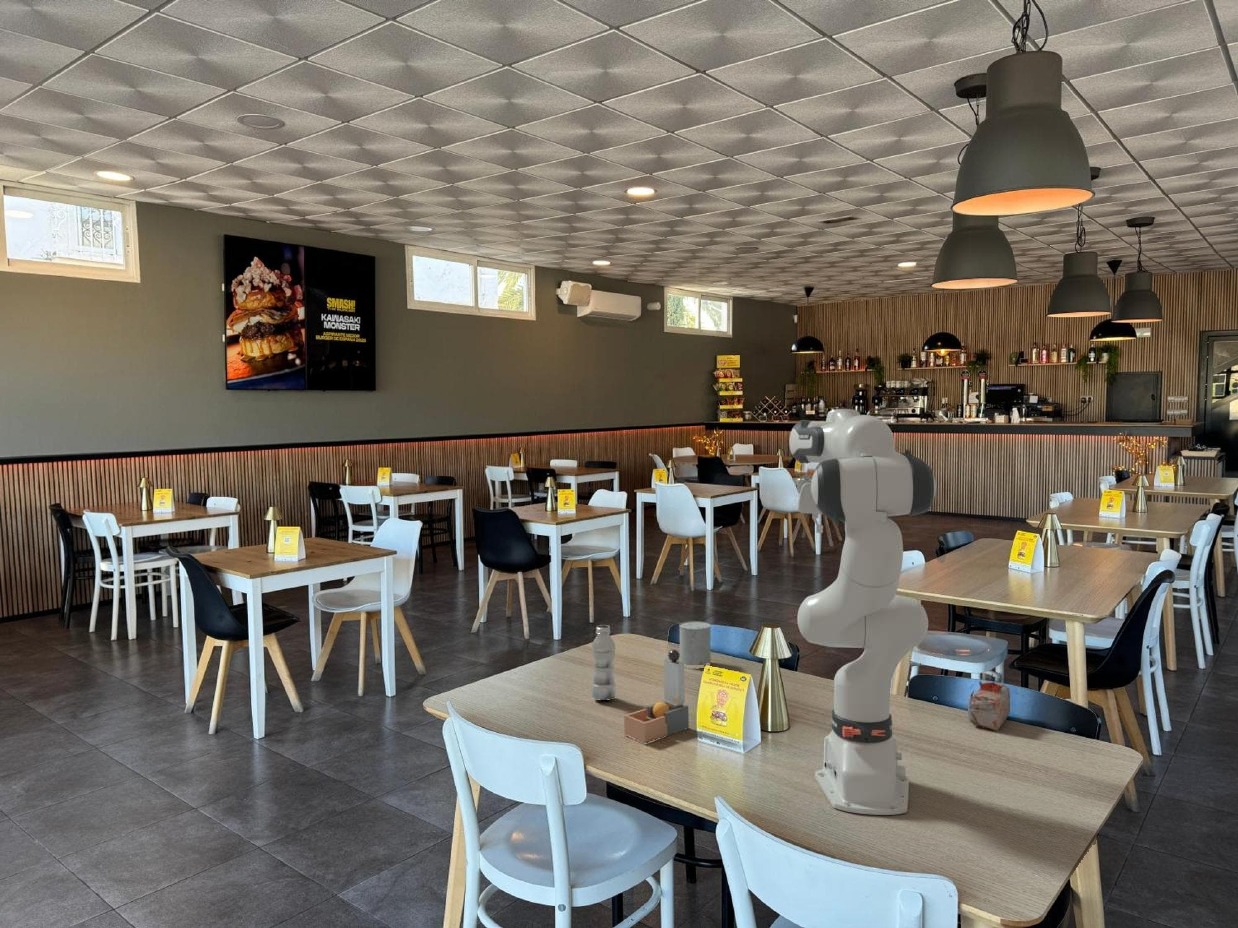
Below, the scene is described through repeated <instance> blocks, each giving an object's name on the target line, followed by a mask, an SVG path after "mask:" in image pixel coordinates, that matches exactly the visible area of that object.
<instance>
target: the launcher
mask: <svg viewBox="0 0 1238 928" xmlns="http://www.w3.org/2000/svg"><path fill="white" fill-rule="evenodd" d="M655 704H656V703H653V704H652V705H649V706H647V707H646V715H647V717H649V718H651V719H656V717H655V716H654V714H653V707H654V706H655ZM689 715H690V714H689V705H683V707H680V708H677V709H674V710H671V711H668V712H665V713H664V716H665V724H667V735H669V734H671V735H673V734H672V733H674V734H676V733H675V732H677V733H679V732H678V731H680V730H683V729H685V728H688V727H689V726H690V725H689V724H690V723H689ZM688 729H689V728H688ZM685 730H686V729H685ZM683 731H684V730H683ZM680 732H681V731H680ZM669 736H670V735H669Z"/></svg>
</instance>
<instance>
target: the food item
mask: <svg viewBox="0 0 1238 928" xmlns="http://www.w3.org/2000/svg"><path fill="white" fill-rule="evenodd" d="M978 685H979V686H980V688H979V689H978V690H977V691H976V692H975V690H973V691H972V692H971V693H970V696H969V698H968V702H967V704H968V705H967V706H968V709H967V714H968V715H967V717H968V721H969V723H971V724H972V725H973V726H976V727H979V728H981V729H986V730H991V731H997V732H998V731H999V729H1000V728H1001V727H1002V725H1003V724H1004V722H1005V721H1006V720H1007V718H1008V717H1009V715H1010V712H1011V692H1010V687H1008V686H1007V685H1005V684H1003V683H999V682H996V681H986V682H984V683H983V682H982V681H980V680H979V682H978Z"/></svg>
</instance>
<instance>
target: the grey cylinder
mask: <svg viewBox="0 0 1238 928" xmlns="http://www.w3.org/2000/svg"><path fill="white" fill-rule="evenodd" d="M679 654H680V657H679V661H681V662H684V664H686V665H704V667H705V666H706V663H710V662H711V624H710V623H708V622H705V621H695V620H694V621H693V620H692V621H690V620H689V621H684V622H681V623H679Z"/></svg>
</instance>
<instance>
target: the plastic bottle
mask: <svg viewBox="0 0 1238 928" xmlns="http://www.w3.org/2000/svg"><path fill="white" fill-rule="evenodd" d="M595 627H596V628H595V629H596V630H595V634H596V636H595V638H594V639H593V641H592V643H591V653H592V661H593V679H592V680H593V682H592V686H591V694H592V697H593V699H594V698H596V699H600V700H607V699H612V698H615V697H616V693H617V687H616V682H615V673H614V672H615V671H614V666H615V653H616V643H615V641H614V639H613V638H612V637H611V636H610V634H611V627H610V625H606V624H599V625H597V626H595ZM612 700H613V699H612Z"/></svg>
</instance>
